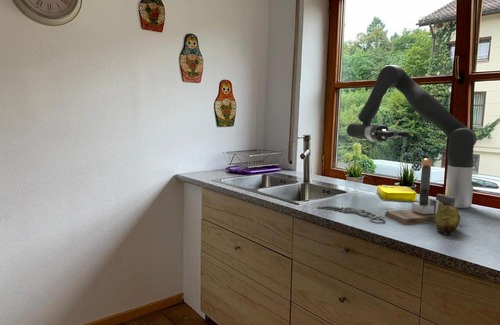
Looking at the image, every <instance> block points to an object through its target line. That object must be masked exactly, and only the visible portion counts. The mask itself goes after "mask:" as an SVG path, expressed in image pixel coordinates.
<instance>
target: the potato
mask: <svg viewBox="0 0 500 325" xmlns="http://www.w3.org/2000/svg"><path fill="white" fill-rule="evenodd" d="M460 221H461V214H460V212H459V209H458V208H456V207H453V206H447V205H445V206H442V207H441V208H440V209H439V210H438V211H437V214H436V222H434V223H435V228H436V230H438V232H439V233H441V234H444V235H448V236H449V235H452V234H455V232H456V231H457V229H458V227H459V225H460Z"/></svg>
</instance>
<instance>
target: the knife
mask: <svg viewBox="0 0 500 325" xmlns="http://www.w3.org/2000/svg"><path fill="white" fill-rule="evenodd" d="M316 209H325V210H326V209H327V210H332V211H333V210H334V211H338V212H341V213H344V214H355V215H358V216H359V217H362V218H367V219H368V220H369V222H371V223H373V224H382V223H383V224H386V223H387V221H386V220H385V218H384V217H383V216H382V215H377V214H376V213H372V212H370V211H366V210H364V209H361V208H359V209H358V208H354V207H349V206H345V207H343V206H342V207H339V206H334V205H333V206H330V205H329V206H327V205H326V206H318V207H316Z"/></svg>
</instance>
